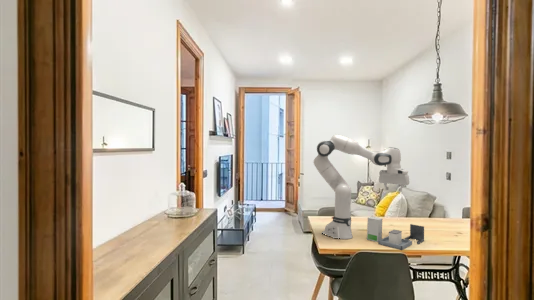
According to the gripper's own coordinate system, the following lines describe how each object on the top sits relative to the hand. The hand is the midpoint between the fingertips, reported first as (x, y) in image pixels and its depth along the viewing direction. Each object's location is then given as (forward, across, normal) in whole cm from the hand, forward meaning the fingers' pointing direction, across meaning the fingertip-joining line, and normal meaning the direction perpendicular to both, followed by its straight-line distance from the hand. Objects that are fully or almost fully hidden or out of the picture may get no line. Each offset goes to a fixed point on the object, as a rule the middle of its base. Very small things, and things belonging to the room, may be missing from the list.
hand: (393, 190), depth 210 cm
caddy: (+34, +6, -9) cm, 35 cm away
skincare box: (+35, -8, -10) cm, 37 cm away
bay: (+34, +11, +7) cm, 37 cm away
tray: (+34, +6, -9) cm, 36 cm away
